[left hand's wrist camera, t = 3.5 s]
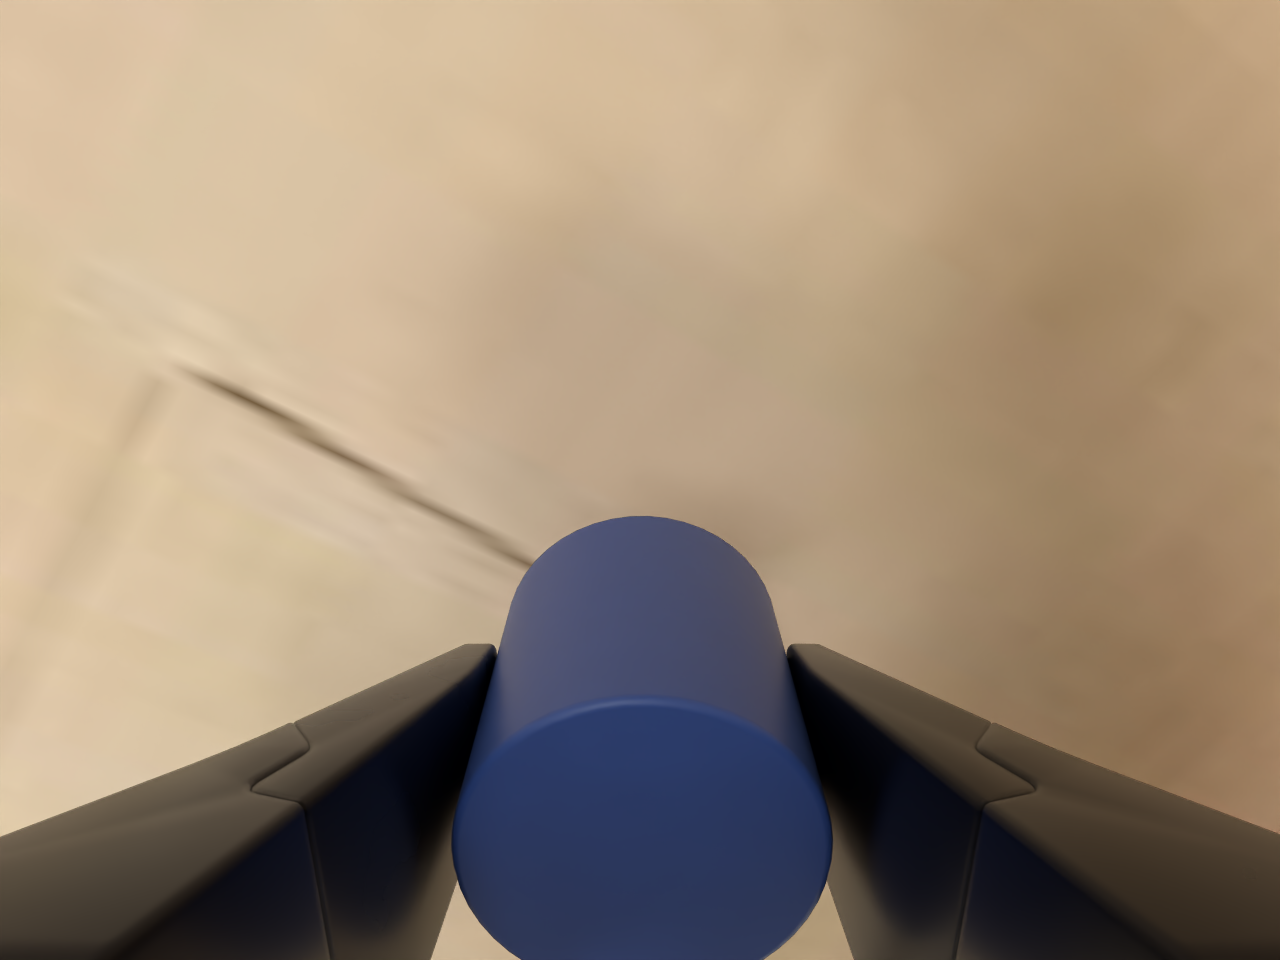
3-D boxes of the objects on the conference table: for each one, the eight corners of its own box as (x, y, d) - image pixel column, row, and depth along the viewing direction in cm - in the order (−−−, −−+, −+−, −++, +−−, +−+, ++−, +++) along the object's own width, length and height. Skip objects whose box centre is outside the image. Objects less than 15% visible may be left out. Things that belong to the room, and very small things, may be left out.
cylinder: (453, 606, 13) (368, 822, 9) (677, 461, 12) (696, 628, 8) (610, 784, 14) (598, 1045, 10) (824, 664, 13) (904, 897, 9)
